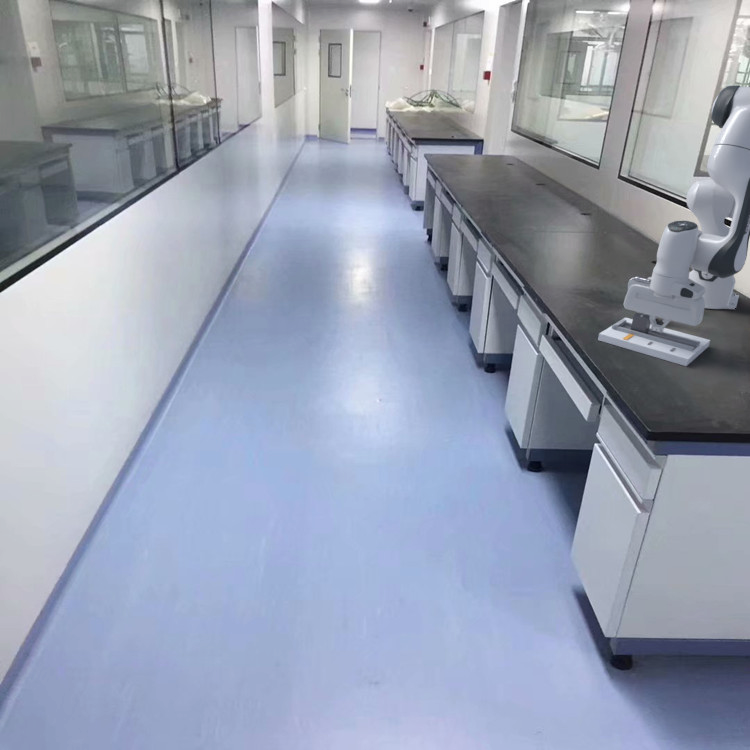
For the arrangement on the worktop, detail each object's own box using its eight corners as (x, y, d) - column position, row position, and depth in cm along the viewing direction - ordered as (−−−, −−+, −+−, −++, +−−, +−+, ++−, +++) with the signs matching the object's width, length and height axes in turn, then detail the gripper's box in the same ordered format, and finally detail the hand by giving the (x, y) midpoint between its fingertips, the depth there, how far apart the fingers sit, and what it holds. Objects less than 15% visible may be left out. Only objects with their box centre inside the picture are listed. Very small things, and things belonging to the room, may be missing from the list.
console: (624, 323, 187) (626, 312, 185) (708, 346, 172) (711, 335, 171) (597, 340, 175) (600, 328, 173) (686, 366, 160) (689, 353, 159)
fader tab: (634, 328, 177) (638, 311, 175) (648, 332, 175) (652, 315, 173) (630, 331, 175) (634, 314, 173) (644, 335, 173) (648, 317, 171)
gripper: (625, 277, 170) (615, 324, 176) (704, 295, 157) (690, 345, 164) (634, 272, 174) (624, 319, 180) (712, 289, 162) (698, 338, 168)
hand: (656, 331), depth 172 cm, fingers closed
